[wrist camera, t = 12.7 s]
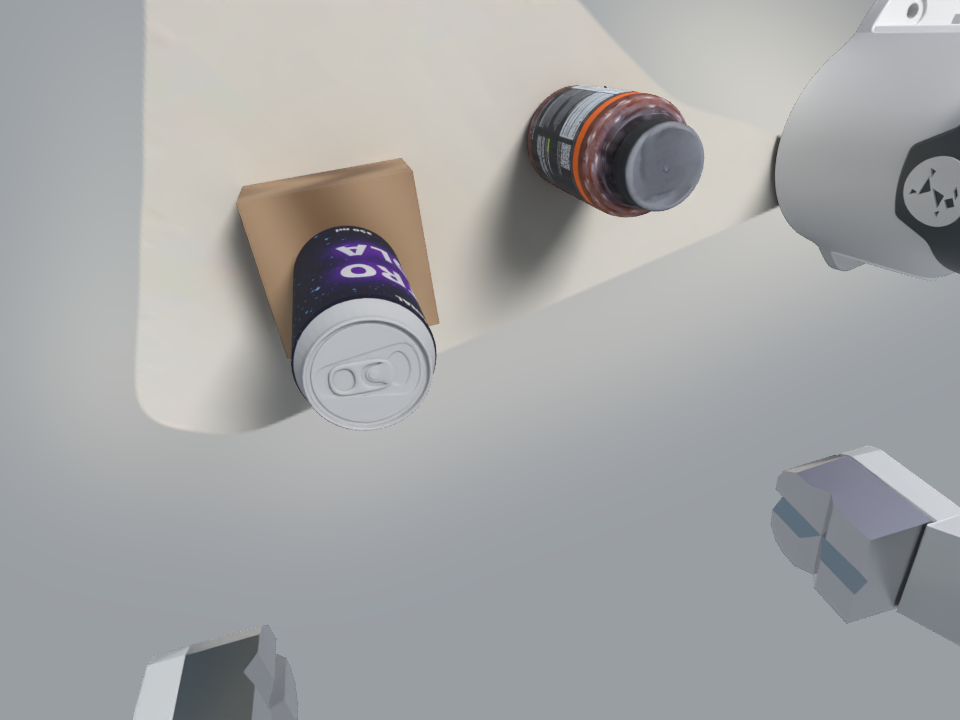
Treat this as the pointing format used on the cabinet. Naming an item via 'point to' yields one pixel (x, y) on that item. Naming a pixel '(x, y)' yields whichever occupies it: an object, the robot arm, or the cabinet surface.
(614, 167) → the supplement bottle
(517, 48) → the cabinet surface
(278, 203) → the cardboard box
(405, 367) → the beverage can
